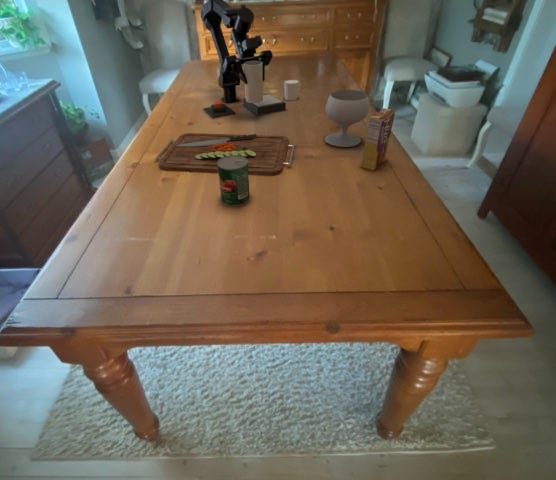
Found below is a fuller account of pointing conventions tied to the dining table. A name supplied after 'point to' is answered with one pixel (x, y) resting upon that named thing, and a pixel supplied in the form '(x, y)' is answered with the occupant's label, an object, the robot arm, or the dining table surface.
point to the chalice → (346, 115)
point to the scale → (266, 105)
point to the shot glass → (291, 89)
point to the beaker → (254, 81)
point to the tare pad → (218, 111)
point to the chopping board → (226, 152)
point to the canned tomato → (234, 180)
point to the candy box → (377, 138)
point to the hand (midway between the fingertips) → (255, 82)
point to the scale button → (218, 104)
